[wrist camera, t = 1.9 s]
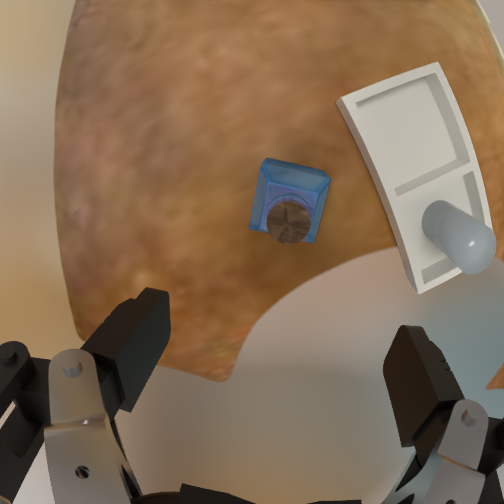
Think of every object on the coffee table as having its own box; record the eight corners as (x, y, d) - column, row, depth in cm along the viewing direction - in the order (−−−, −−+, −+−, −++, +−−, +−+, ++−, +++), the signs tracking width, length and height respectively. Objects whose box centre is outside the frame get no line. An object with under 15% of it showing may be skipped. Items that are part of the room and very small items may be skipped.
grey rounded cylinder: (427, 196, 29) (466, 220, 20) (460, 204, 28) (502, 230, 20) (416, 237, 31) (450, 271, 22) (449, 243, 30) (485, 277, 22)
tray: (334, 101, 27) (341, 97, 24) (422, 67, 24) (437, 61, 20) (407, 278, 34) (418, 294, 30) (480, 240, 30) (495, 252, 27)
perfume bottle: (323, 170, 30) (341, 191, 19) (310, 223, 33) (319, 271, 22) (266, 157, 31) (253, 171, 20) (256, 211, 33) (238, 253, 22)
